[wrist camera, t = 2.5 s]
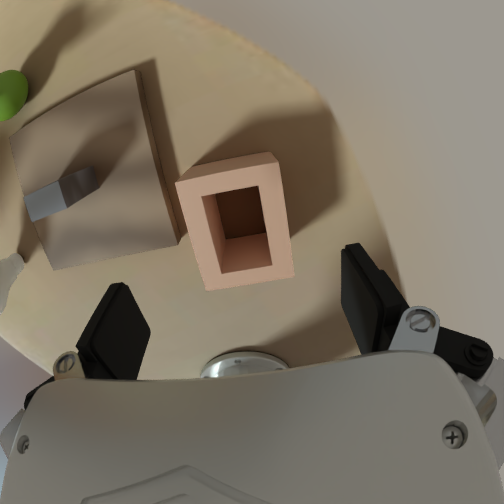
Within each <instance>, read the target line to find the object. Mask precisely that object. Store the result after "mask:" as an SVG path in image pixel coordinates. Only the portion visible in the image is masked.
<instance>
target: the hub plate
mask: <svg viewBox="0 0 504 504" xmlns="http://www.w3.org/2000/svg"><path fill="white" fill-rule="evenodd" d="M9 139H10V144H11V149H12V153H13V158H14V162H15V166H16V170H17V174H18V177H19V181H20V184H21V188H22V191H23V194H24V197H23V198H24V201H25V204H26V207H27V210H28V213H29V216H30V219H31V221H32V222H33V224H34V226H35V229H36V231H37V234H38V236H39V239H40V241H41V244H42V246H43V249H44V251H45V253H46V255H47V258H48V260H49V262H50V264H51V266H52V268H53V271H54V270H59V269H63V268H68V267H72V266H77V265H82V264H86V263H91V262H96V261H101V260H105V259H110V258H115V257H120V256H125V255H130V254H135V253H140V252H145V251H150V250H155V249H160V248H165V247H170V246H176V245H178V244H179V242H180V240H181V236H180V232H179V229H178V226H177V222H176V219H175V215H174V212H173V208H172V205H171V201H170V198H169V194H168V190H167V187H166V183H165V179H164V176H163V172H162V168H161V164H160V160H159V156H158V152H157V148H156V144H155V139H154V135H153V131H152V126H151V122H150V117H149V113H148V108H147V103H146V98H145V93H144V88H143V83H142V78H141V72H140V71H137V70H131V71H129V72H126V73H124V74H121V75H119V76H116V77H114V78H112V79H109V80H107V81H105V82H103V83H101V84H98V85H96V86H94V87H92V88H90V89H88V90H86V91H84V92H82V93H80V94H78V95H76V96H74V97H72V98H70V99H69V100H67V101H65V102H63V103H61V104H60V105H58V106H56V107H54V108H53V109H51V110H49V111H48V112H46V113H45V114H43V115H41V116H40V117H38V118H37V119H35V120H34V121H32V122H31V123H29V124H28V125H26V126H25V127H23V128H22V129H20V130H19V131H18V132H16V133H15V134H13V135H12V136H11V137H9Z"/></svg>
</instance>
